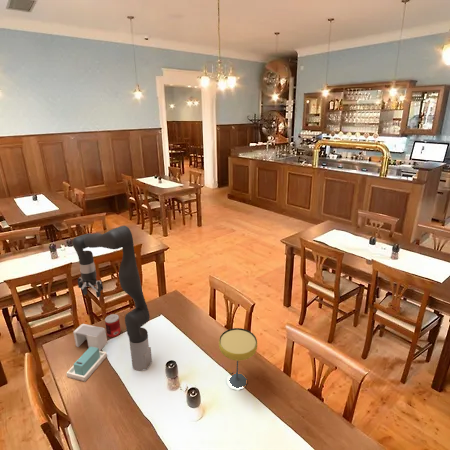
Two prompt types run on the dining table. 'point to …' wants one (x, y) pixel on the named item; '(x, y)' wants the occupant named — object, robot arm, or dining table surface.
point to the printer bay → (90, 336)
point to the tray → (83, 378)
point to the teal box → (86, 361)
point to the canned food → (112, 325)
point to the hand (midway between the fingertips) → (92, 295)
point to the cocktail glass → (238, 350)
